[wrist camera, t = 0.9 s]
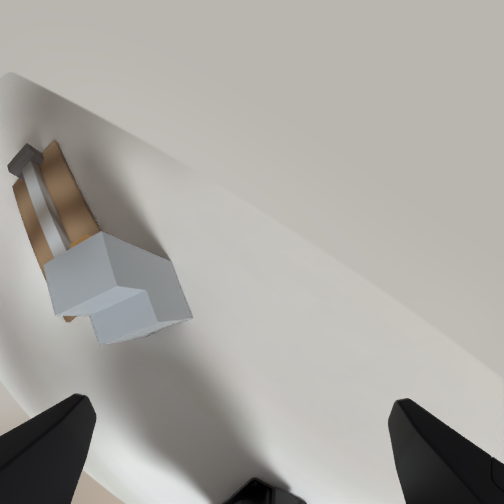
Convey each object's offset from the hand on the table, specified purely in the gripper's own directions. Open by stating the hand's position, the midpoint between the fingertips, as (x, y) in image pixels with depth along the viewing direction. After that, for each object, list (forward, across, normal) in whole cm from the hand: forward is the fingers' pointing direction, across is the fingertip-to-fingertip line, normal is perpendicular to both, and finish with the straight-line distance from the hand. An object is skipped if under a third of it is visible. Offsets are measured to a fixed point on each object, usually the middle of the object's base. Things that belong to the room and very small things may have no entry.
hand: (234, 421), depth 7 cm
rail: (+20, +20, -2) cm, 28 cm away
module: (+16, +8, +4) cm, 19 cm away
